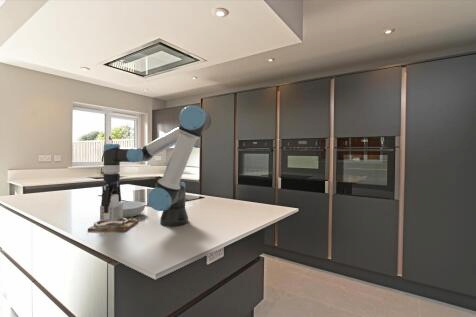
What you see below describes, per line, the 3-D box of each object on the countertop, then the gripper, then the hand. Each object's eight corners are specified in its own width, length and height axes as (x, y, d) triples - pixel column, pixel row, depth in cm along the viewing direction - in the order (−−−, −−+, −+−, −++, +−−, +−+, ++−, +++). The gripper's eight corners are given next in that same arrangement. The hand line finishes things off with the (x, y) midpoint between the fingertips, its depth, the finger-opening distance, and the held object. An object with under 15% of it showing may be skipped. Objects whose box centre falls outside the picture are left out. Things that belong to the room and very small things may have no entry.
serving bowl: (99, 218, 140) (98, 206, 140) (126, 210, 160) (126, 200, 160) (127, 222, 134) (127, 210, 133) (152, 213, 153) (152, 202, 153)
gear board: (138, 222, 134) (138, 215, 134) (124, 231, 118) (124, 223, 118) (105, 221, 134) (105, 214, 134) (87, 231, 118) (87, 223, 118)
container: (99, 220, 123) (99, 195, 122) (110, 216, 130) (110, 192, 130) (113, 221, 121) (113, 196, 121) (123, 217, 129) (123, 193, 129)
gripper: (114, 171, 136) (114, 211, 136) (92, 175, 114) (92, 222, 115) (128, 171, 136) (128, 211, 136) (108, 175, 115) (108, 222, 115)
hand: (111, 216), depth 126 cm, fingers closed on container, 8 cm apart
